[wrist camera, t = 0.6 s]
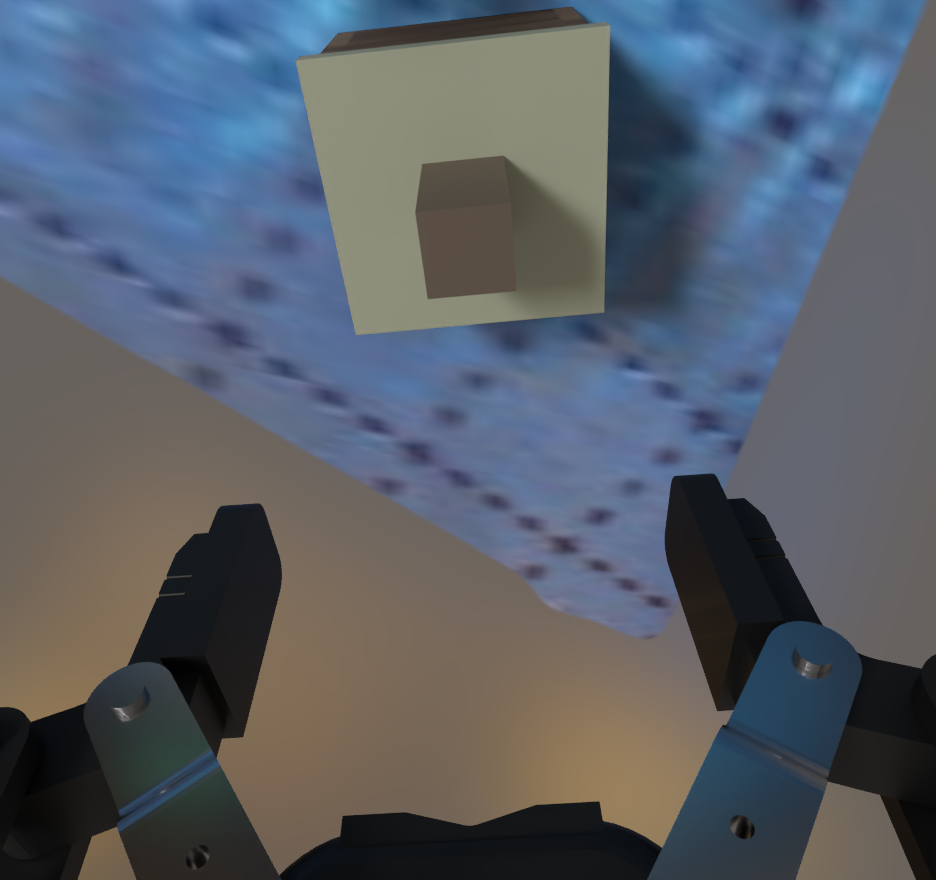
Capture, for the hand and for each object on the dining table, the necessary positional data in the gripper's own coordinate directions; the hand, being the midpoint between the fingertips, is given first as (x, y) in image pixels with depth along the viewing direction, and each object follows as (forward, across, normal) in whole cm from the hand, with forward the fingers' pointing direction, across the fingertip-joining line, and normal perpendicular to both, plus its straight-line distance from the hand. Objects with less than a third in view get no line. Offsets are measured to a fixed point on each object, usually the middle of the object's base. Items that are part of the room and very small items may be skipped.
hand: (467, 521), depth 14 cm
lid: (+18, 0, -1) cm, 18 cm away
